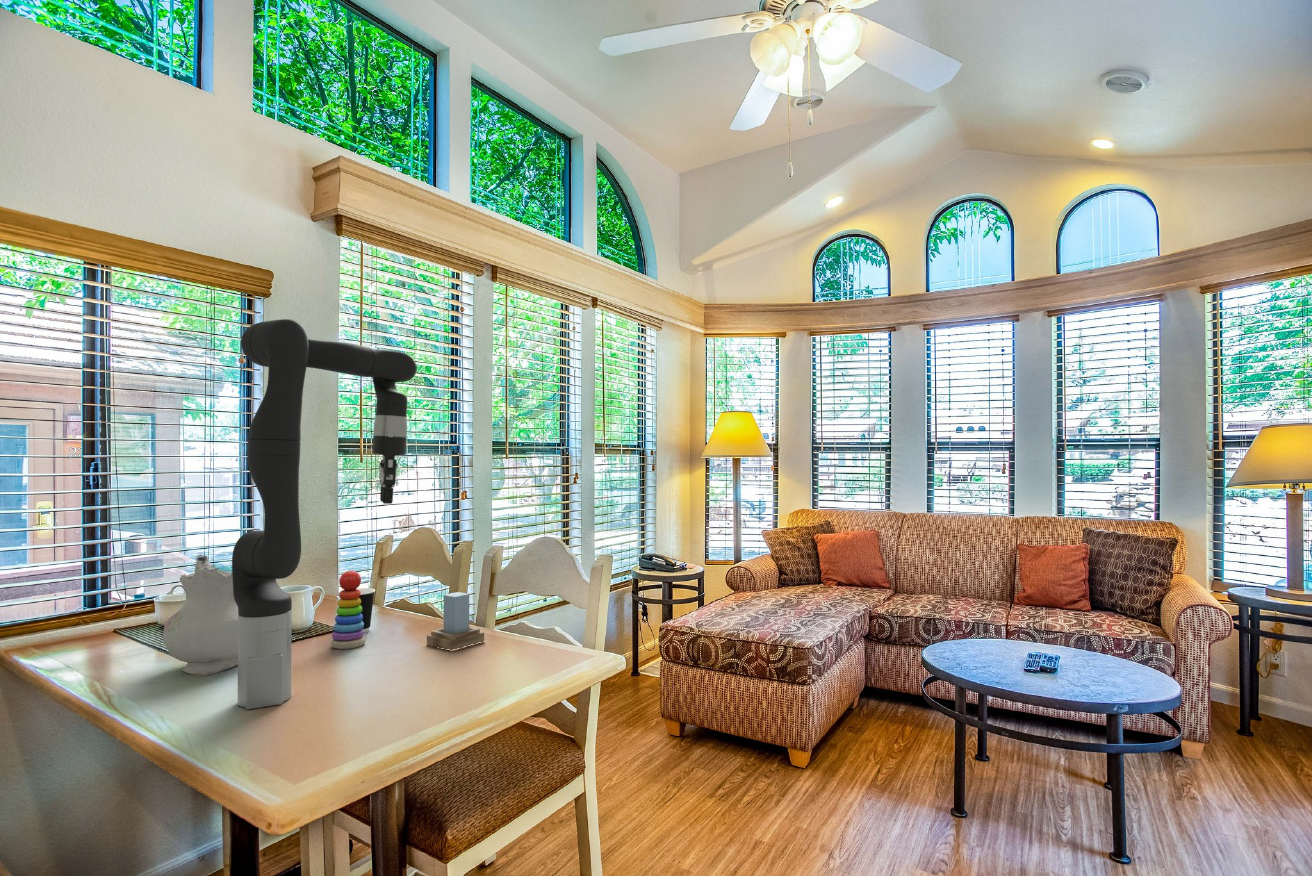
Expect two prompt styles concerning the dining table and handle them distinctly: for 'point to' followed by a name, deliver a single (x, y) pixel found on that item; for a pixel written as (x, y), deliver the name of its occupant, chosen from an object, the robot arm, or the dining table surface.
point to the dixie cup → (366, 606)
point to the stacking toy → (348, 614)
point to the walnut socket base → (454, 638)
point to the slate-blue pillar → (456, 613)
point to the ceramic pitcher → (205, 621)
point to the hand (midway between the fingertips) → (386, 502)
